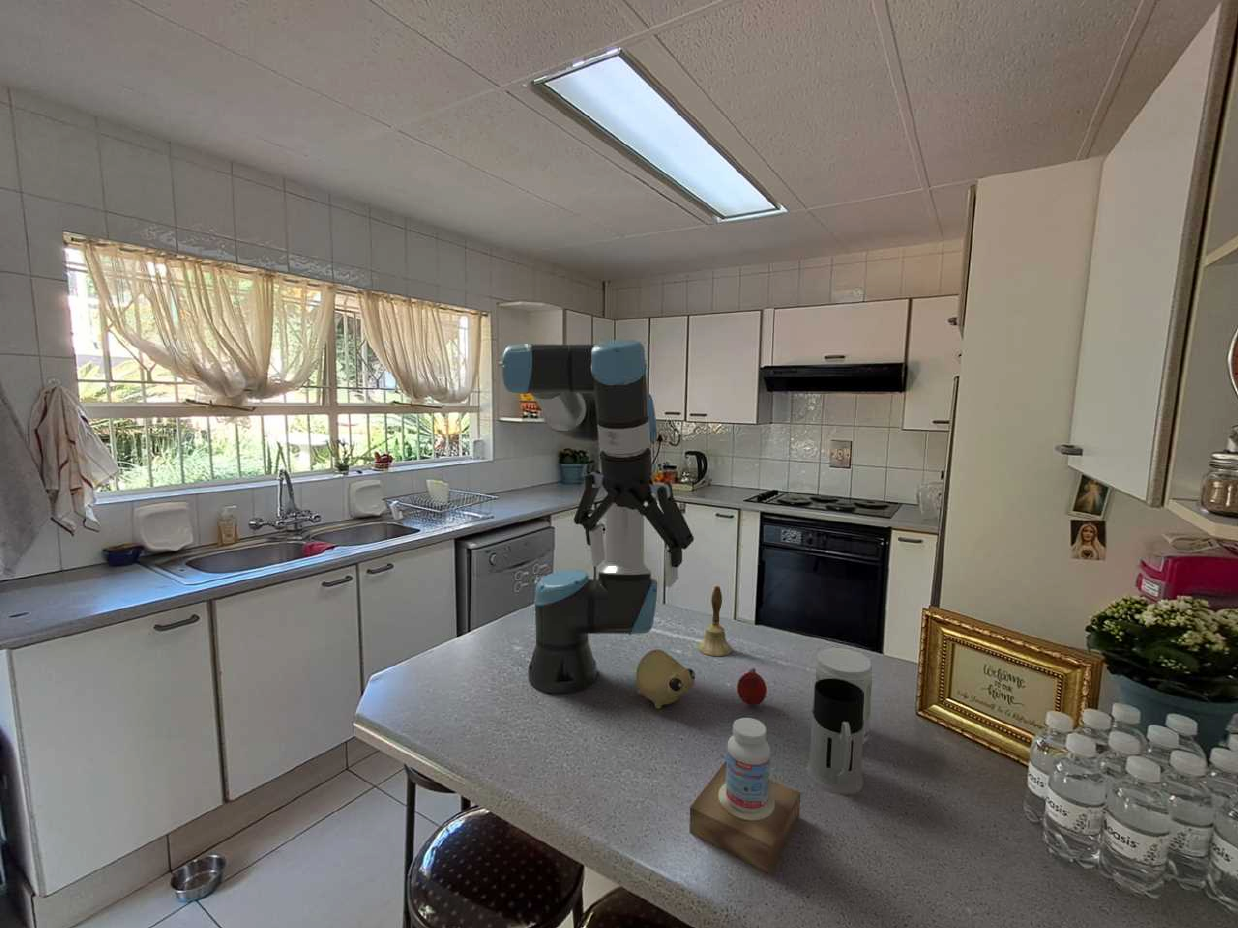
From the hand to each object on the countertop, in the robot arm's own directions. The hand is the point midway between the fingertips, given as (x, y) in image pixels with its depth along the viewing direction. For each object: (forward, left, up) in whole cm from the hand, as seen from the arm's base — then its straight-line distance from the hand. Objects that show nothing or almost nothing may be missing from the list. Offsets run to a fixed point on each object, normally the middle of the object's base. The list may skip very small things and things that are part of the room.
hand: (634, 572), depth 88 cm
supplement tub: (+26, +30, -34) cm, 53 cm away
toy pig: (-6, +20, -34) cm, 40 cm away
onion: (+9, +29, -34) cm, 46 cm away
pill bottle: (+20, -1, -30) cm, 36 cm away
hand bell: (-8, +48, -34) cm, 60 cm away
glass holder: (+29, +15, -34) cm, 48 cm away
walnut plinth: (+20, -1, -34) cm, 40 cm away
